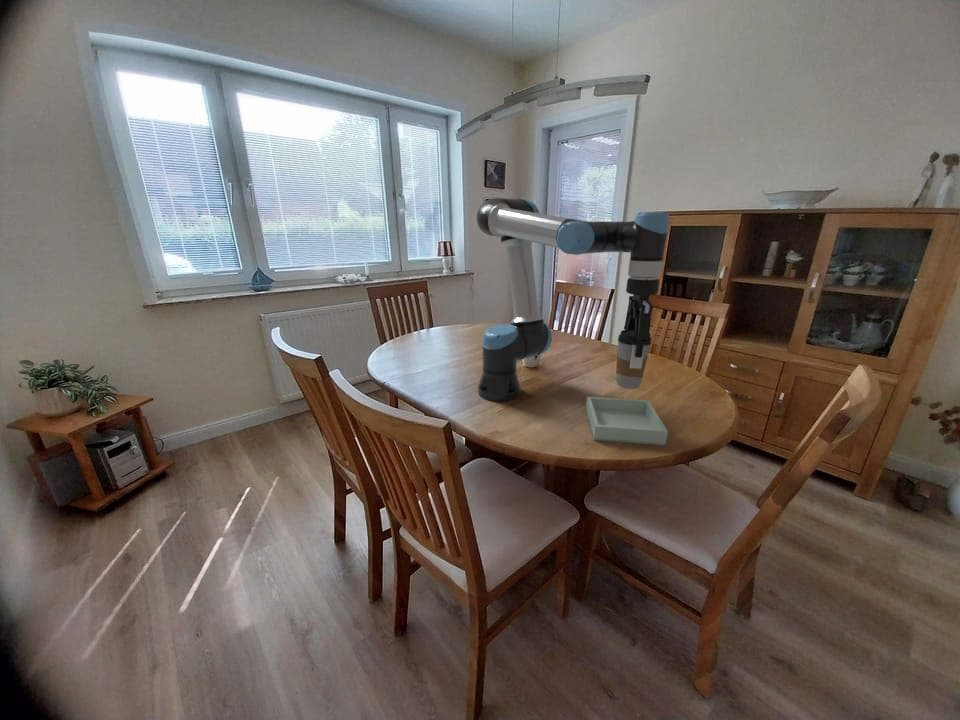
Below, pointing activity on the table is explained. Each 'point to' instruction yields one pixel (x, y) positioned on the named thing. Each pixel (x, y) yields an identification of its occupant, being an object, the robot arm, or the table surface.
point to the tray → (625, 421)
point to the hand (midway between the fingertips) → (631, 362)
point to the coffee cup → (624, 373)
